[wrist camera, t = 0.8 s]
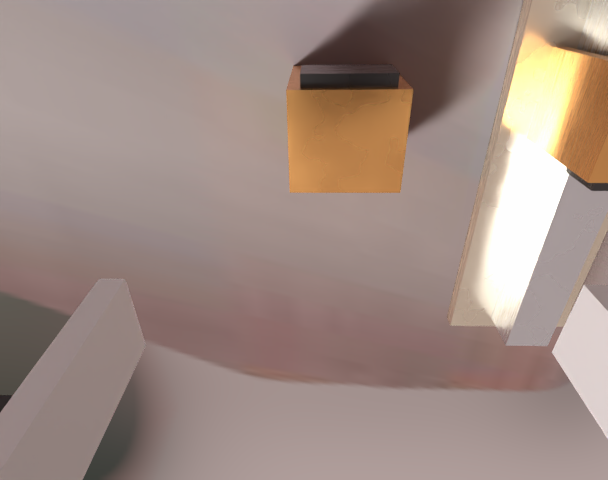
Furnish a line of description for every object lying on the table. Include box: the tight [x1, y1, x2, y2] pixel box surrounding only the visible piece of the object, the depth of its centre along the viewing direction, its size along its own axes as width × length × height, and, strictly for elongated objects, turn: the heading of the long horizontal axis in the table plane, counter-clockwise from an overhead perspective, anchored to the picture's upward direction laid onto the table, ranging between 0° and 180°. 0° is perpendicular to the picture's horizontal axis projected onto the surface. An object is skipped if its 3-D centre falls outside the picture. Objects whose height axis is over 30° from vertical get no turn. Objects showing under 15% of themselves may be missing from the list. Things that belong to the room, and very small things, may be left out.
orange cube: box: [286, 64, 413, 193], centre depth 22 cm, size 6×6×6 cm
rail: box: [447, 0, 608, 346], centre depth 24 cm, size 24×9×8 cm, turn 1°
